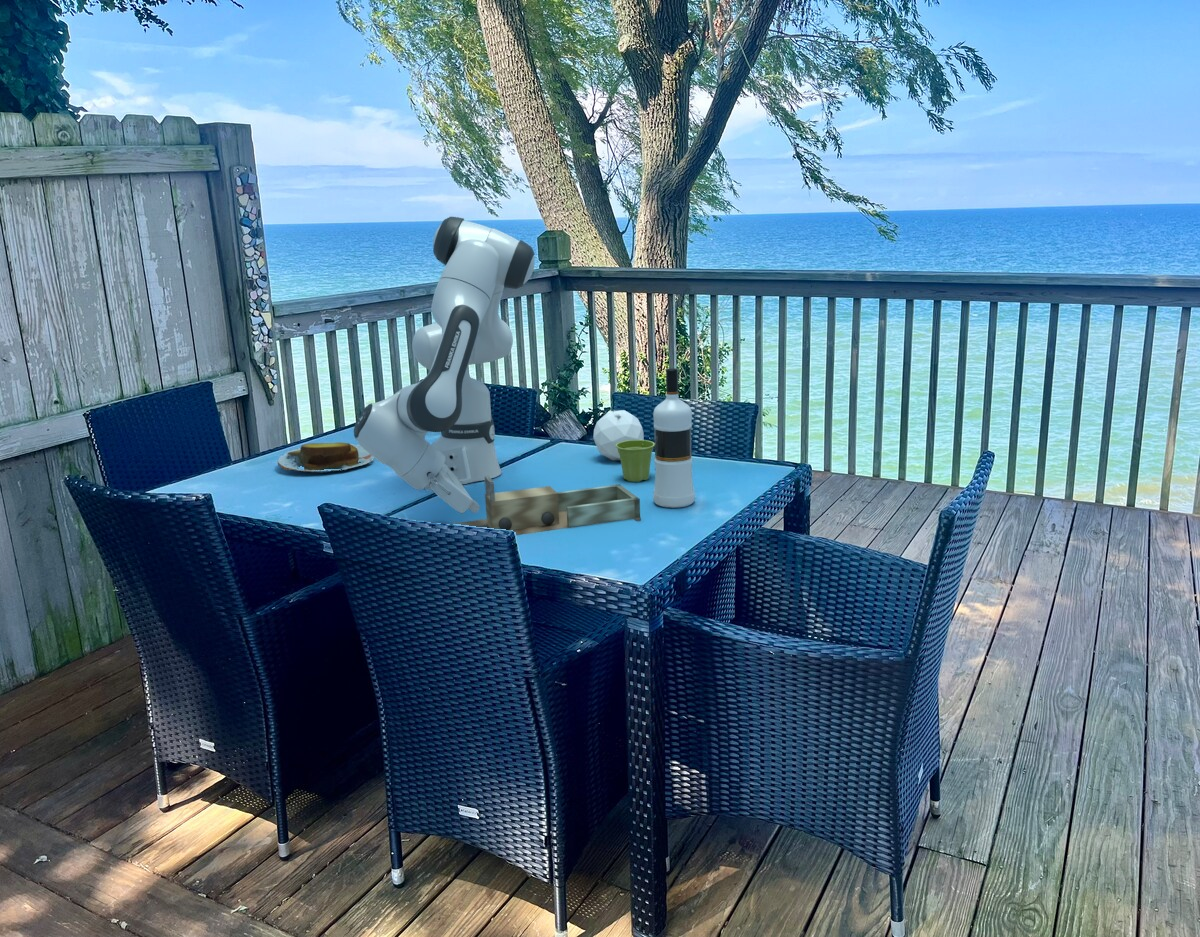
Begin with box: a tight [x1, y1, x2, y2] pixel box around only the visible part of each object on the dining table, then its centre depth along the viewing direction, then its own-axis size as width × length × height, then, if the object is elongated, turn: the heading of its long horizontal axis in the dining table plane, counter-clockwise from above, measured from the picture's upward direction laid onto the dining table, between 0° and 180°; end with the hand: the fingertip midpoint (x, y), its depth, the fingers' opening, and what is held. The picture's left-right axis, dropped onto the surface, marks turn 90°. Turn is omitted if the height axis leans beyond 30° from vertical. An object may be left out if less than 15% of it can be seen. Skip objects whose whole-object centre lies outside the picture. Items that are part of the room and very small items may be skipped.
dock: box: [453, 483, 642, 536], centre depth 194 cm, size 38×13×5 cm, turn 109°
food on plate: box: [277, 442, 375, 473], centre depth 252 cm, size 26×26×7 cm
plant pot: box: [616, 439, 655, 483], centre depth 225 cm, size 9×9×9 cm
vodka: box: [652, 367, 696, 509], centre depth 202 cm, size 9×9×30 cm
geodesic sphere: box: [592, 409, 645, 462], centre depth 243 cm, size 14×14×14 cm
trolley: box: [484, 476, 559, 530], centre depth 192 cm, size 14×8×10 cm, turn 109°
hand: (476, 508), depth 189 cm, fingers closed
